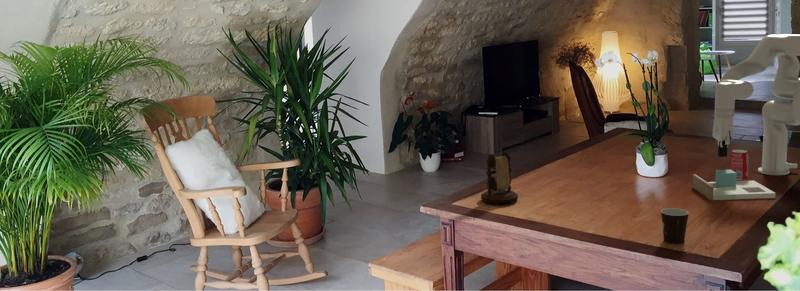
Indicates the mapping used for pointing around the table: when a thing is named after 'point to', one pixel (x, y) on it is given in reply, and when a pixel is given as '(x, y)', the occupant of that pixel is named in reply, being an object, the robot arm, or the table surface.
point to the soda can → (739, 164)
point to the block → (725, 178)
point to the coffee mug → (674, 225)
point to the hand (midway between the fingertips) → (722, 156)
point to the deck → (731, 190)
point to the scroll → (499, 180)
